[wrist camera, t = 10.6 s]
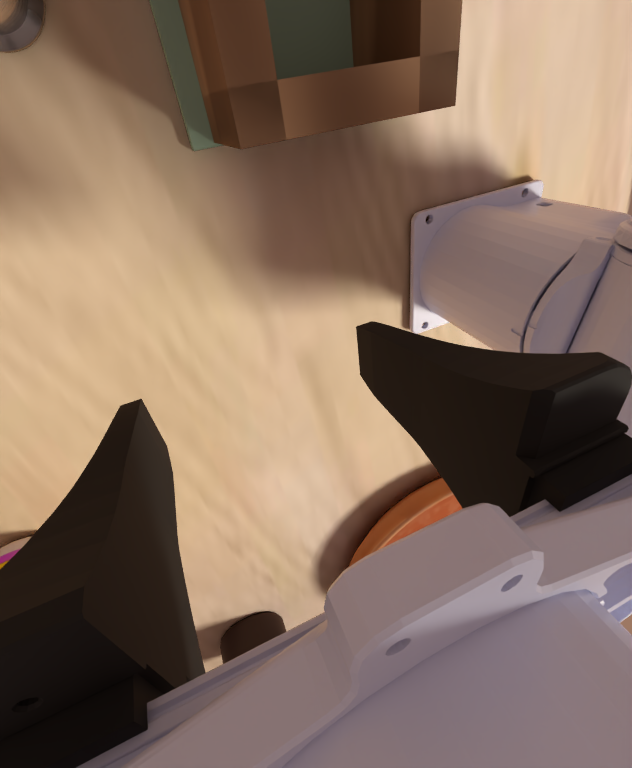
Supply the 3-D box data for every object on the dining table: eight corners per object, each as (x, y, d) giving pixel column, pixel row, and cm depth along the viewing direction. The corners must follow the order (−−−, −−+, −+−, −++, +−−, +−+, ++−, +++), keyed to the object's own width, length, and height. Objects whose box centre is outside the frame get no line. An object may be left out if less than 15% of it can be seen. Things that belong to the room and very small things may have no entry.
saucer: (320, 521, 36) (336, 556, 33) (518, 423, 40) (548, 446, 37) (352, 617, 50) (366, 647, 47) (496, 537, 54) (517, 560, 51)
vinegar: (221, 657, 42) (277, 969, 26) (217, 626, 38) (279, 967, 23) (281, 633, 44) (364, 906, 29) (282, 602, 40) (378, 895, 25)
